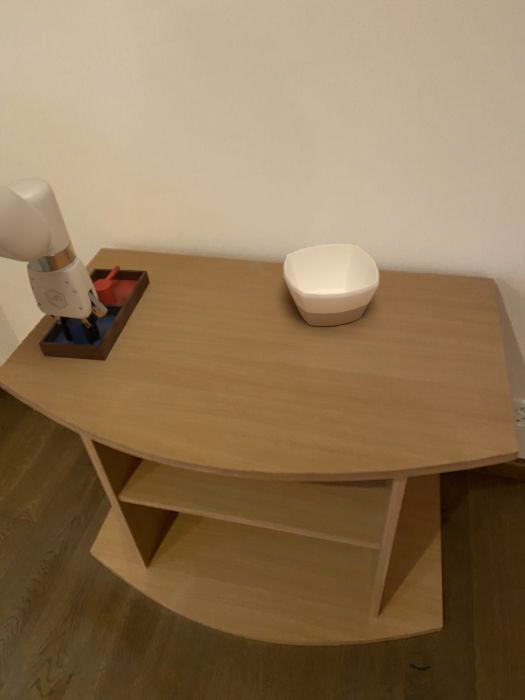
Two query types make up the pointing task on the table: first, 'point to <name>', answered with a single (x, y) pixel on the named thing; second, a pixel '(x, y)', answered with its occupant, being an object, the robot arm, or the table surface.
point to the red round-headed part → (106, 288)
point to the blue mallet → (77, 330)
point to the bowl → (331, 282)
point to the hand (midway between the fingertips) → (83, 337)
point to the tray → (110, 325)
